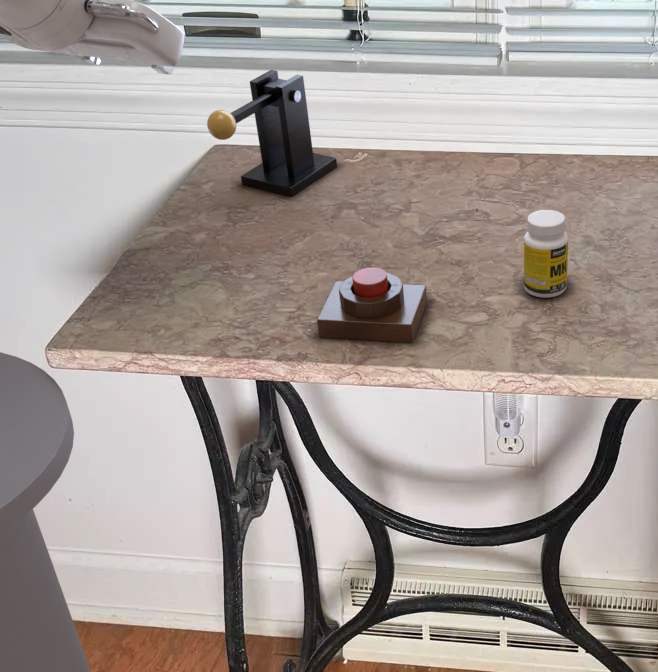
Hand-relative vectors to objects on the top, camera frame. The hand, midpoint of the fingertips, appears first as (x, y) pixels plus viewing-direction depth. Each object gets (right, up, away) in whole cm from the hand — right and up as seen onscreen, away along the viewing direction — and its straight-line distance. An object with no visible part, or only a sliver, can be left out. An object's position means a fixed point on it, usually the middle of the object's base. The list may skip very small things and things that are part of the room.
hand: (131, 63), depth 128 cm
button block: (+26, -28, -2) cm, 39 cm away
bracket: (+13, -5, +27) cm, 30 cm away
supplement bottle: (+45, -24, +2) cm, 51 cm away
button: (+26, -25, -4) cm, 37 cm away
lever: (+10, -1, +17) cm, 20 cm away
